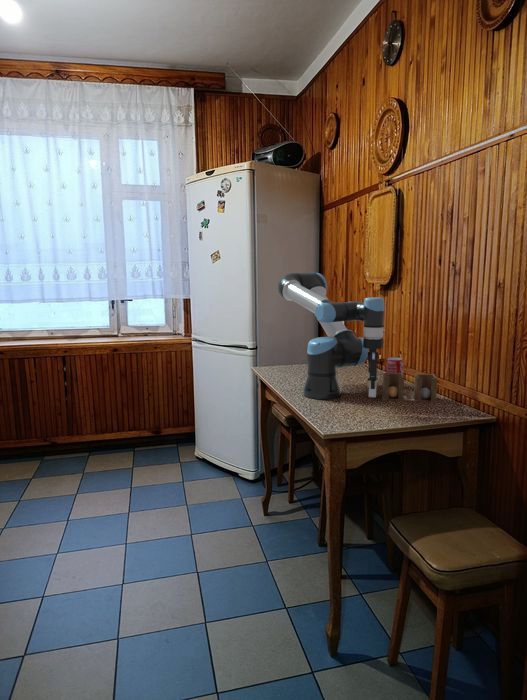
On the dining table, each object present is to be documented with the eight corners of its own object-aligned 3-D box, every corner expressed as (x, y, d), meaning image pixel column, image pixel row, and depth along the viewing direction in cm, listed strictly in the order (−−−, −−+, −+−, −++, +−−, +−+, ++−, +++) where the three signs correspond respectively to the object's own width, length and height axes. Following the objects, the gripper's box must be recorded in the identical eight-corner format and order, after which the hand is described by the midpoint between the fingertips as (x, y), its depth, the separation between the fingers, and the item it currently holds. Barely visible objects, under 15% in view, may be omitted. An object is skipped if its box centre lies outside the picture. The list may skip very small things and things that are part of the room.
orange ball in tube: (387, 398, 181) (387, 387, 180) (386, 395, 185) (386, 385, 185) (399, 399, 180) (399, 388, 180) (398, 396, 185) (398, 385, 184)
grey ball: (419, 400, 179) (420, 388, 178) (418, 397, 183) (418, 386, 182) (431, 400, 178) (432, 389, 177) (429, 397, 182) (430, 386, 182)
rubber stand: (367, 400, 183) (368, 389, 183) (367, 398, 186) (367, 387, 186) (375, 400, 183) (376, 389, 182) (375, 398, 186) (375, 387, 185)
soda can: (403, 390, 198) (404, 360, 196) (385, 389, 199) (386, 359, 197) (401, 386, 205) (402, 357, 203) (384, 385, 206) (385, 356, 204)
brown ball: (366, 390, 182) (366, 379, 182) (366, 387, 186) (366, 376, 186) (377, 390, 181) (378, 379, 181) (377, 388, 186) (377, 377, 185)
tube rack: (382, 402, 180) (383, 376, 179) (381, 397, 187) (382, 372, 186) (437, 404, 177) (438, 378, 175) (434, 399, 184) (435, 374, 182)
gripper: (385, 342, 169) (383, 401, 172) (381, 334, 191) (380, 386, 195) (363, 342, 170) (362, 400, 174) (363, 333, 193) (361, 385, 196)
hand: (371, 392), depth 184 cm, fingers open, 11 cm apart
